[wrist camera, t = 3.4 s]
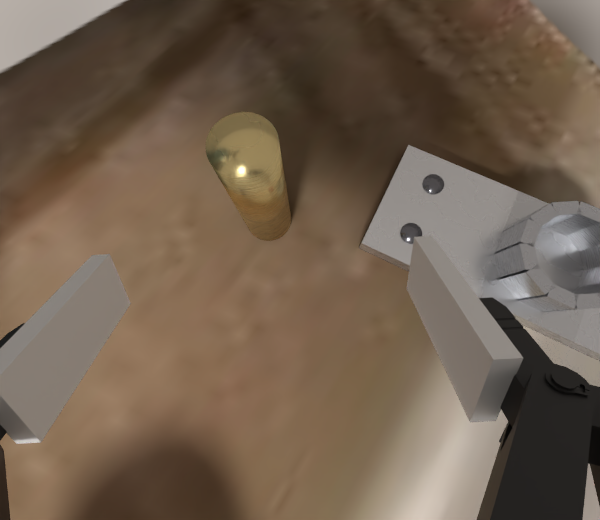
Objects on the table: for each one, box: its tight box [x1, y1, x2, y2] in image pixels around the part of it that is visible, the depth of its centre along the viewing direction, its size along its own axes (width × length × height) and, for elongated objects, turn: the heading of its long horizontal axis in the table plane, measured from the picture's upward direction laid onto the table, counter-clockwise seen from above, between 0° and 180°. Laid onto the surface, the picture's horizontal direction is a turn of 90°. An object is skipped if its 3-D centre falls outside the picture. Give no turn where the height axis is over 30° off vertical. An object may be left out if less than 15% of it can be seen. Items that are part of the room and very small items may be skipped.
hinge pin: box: [206, 112, 291, 241], centre depth 22 cm, size 4×4×11 cm
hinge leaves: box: [359, 145, 600, 361], centre depth 23 cm, size 25×9×4 cm, turn 63°
